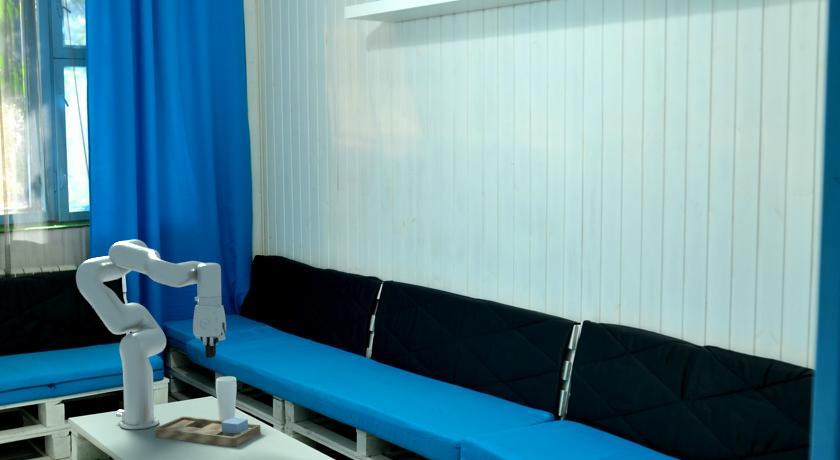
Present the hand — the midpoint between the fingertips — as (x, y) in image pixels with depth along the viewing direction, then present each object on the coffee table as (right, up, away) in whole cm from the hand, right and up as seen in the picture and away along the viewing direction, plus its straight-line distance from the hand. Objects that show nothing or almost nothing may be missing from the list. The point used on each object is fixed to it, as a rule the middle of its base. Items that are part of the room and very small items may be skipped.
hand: (210, 356), depth 303 cm
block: (+8, -23, -2) cm, 25 cm away
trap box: (-1, -25, -1) cm, 25 cm away
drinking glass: (+2, -24, +14) cm, 28 cm away
